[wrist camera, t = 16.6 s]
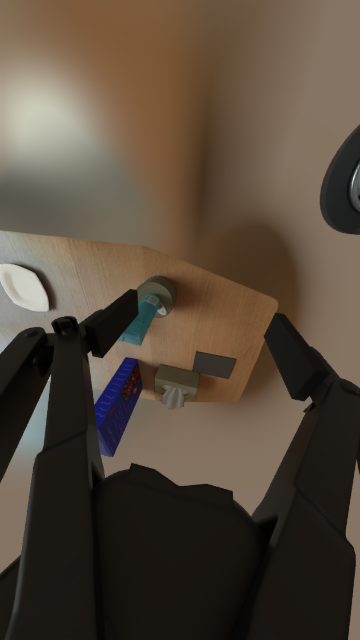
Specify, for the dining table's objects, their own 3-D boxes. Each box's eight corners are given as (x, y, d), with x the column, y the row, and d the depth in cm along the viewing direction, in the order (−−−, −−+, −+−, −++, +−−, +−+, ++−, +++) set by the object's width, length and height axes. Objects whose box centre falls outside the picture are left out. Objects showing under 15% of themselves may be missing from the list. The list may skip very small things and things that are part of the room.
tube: (142, 306, 49) (107, 346, 33) (141, 291, 47) (103, 328, 31) (165, 309, 48) (141, 352, 32) (165, 295, 46) (139, 334, 30)
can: (161, 267, 49) (154, 273, 43) (184, 297, 53) (180, 306, 47) (136, 288, 54) (126, 295, 48) (158, 314, 58) (152, 324, 52)
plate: (57, 313, 67) (53, 315, 65) (17, 304, 68) (12, 306, 67) (42, 268, 56) (37, 269, 55) (-5, 258, 58) (-12, 259, 56)
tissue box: (158, 377, 77) (147, 408, 64) (159, 363, 72) (147, 395, 59) (195, 386, 76) (192, 420, 62) (200, 373, 70) (197, 407, 57)
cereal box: (125, 357, 74) (80, 426, 49) (137, 359, 73) (97, 430, 48) (132, 386, 85) (98, 454, 60) (142, 388, 84) (112, 457, 59)
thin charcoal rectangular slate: (235, 359, 62) (236, 359, 62) (228, 378, 69) (228, 379, 68) (196, 351, 64) (196, 351, 64) (192, 370, 70) (192, 371, 70)
